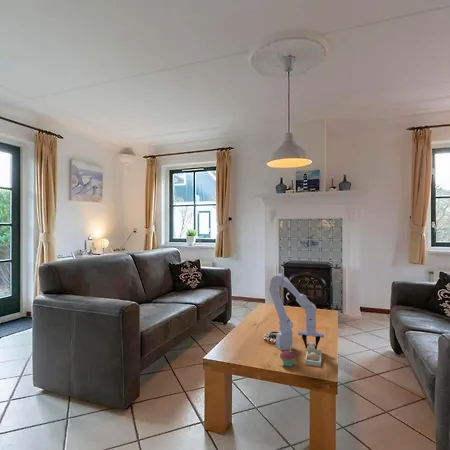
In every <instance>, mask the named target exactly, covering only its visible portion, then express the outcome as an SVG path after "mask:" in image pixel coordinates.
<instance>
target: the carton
mask: <svg viewBox="0 0 450 450" xmlns="http://www.w3.org/2000/svg"><path fill="white" fill-rule="evenodd" d="M311 352H314V353H316V354H317V355H318V360H317V361H312V360H309V358H308V356H309V354H310V353H311ZM322 356H323V352H322V350H320V349H317V350H314V349H306V353H305V358H304V365H307V366H315V367H322Z"/></svg>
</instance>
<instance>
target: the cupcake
mask: <svg viewBox="0 0 450 450" xmlns="http://www.w3.org/2000/svg"><path fill="white" fill-rule="evenodd" d="M291 348H292V343H291V346H290V349H288V350H282V351H281V352H280V353H279V358H280V359H281V361H282V363H283V366H284V367H285V366H286V367H292V366H294V362H295V361H297V355H296V353H295V352H293V351H292V349H291Z"/></svg>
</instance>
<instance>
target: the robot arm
mask: <svg viewBox="0 0 450 450" xmlns="http://www.w3.org/2000/svg"><path fill="white" fill-rule="evenodd" d="M280 287H281V288H285V289H287V290H288V291H289V293H291V294H292V295H293V296H294V297H295V301H296V302H297V304H299V306H300V307H301V308H302V309H303V310H304V312H305V330H303V331H302V330H298V332H297V336H301V339H302V342H303V344H304V348H305V349H306V350H307V344H308V342H307V339H308V338H307V337H314V338H315V346H316V347H315V350H318V345H319V343H320V341H321V338H322V339H325V333H321V332H317V315H316V314H317V306H316V304H315V303H313V302H312V301H310V300H309V299H308V296H307V295H305V294H303V293H300V292H299V291H298V290H297V288H296V287H295V286H294V285H293V283H292V282H291V281H290V280H289V278H288V277H287V276H285V274H283V273H282V272H279V273H276V275H273V277H272V278H271V279H270V283H269V288H268V290H269V293H270V296H271V298H272V299H271V300H272V302H273V304H274V307H275V310H276V314H277V317H278V323H279V332H277V333H276V334H275V346H276V348H278V350H280V351H287V350H288V351H289V350H290V346H291V343H292V348H291V350H295V349H296V347H294V346H293V343H294V342H293V339H294V337H293V335H294V334H293V333H294V332H293V330H292V329H293V326H294V324H293V321H292V320H291V319H290V316H288V314H287V311H286V308H285V306H284V303H283V299H282V298H281V295H280V292H279V290H280Z"/></svg>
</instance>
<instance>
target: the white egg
mask: <svg viewBox="0 0 450 450" xmlns="http://www.w3.org/2000/svg"><path fill="white" fill-rule="evenodd" d="M315 347H316V343H314V342H311V341H310V342H307V349H314V350H315ZM307 349H306V350H307Z"/></svg>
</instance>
